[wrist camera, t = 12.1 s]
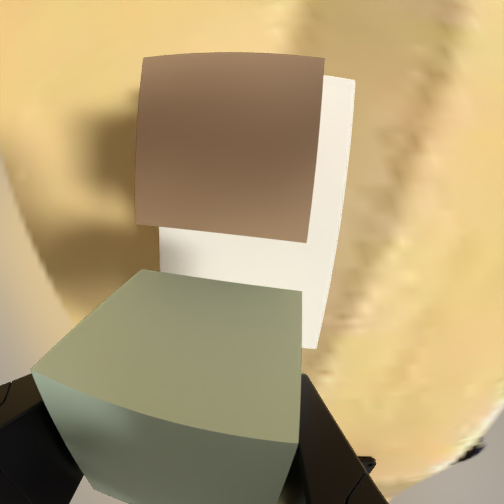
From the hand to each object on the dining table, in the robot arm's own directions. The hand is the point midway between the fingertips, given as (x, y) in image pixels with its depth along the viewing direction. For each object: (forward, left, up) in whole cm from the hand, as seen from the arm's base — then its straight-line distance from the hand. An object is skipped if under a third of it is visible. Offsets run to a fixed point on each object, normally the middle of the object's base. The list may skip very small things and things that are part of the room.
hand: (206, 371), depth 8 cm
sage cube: (0, 0, -1) cm, 1 cm away
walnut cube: (+6, 0, -5) cm, 8 cm away
